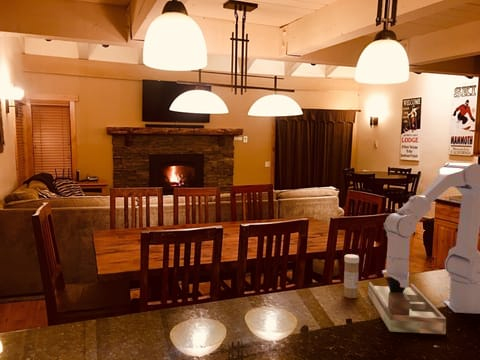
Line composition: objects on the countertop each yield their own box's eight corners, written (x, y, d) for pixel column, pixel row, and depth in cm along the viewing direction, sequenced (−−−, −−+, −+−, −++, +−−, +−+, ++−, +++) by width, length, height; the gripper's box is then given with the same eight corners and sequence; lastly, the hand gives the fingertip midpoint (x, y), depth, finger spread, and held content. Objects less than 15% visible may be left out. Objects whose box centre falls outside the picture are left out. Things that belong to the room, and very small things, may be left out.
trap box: (412, 296, 128) (412, 283, 127) (445, 334, 102) (446, 318, 102) (368, 294, 129) (368, 282, 129) (389, 331, 104) (390, 315, 103)
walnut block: (404, 307, 111) (405, 292, 110) (409, 315, 106) (410, 299, 106) (388, 307, 111) (388, 292, 111) (391, 314, 107) (392, 299, 106)
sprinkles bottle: (351, 292, 131) (352, 253, 130) (361, 297, 127) (362, 256, 126) (340, 294, 129) (341, 254, 128) (349, 299, 125) (351, 258, 124)
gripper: (377, 249, 118) (375, 293, 119) (390, 263, 103) (388, 313, 105) (401, 250, 117) (399, 294, 118) (418, 264, 103) (415, 314, 104)
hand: (395, 303), depth 111 cm, fingers closed, pressing on walnut block
